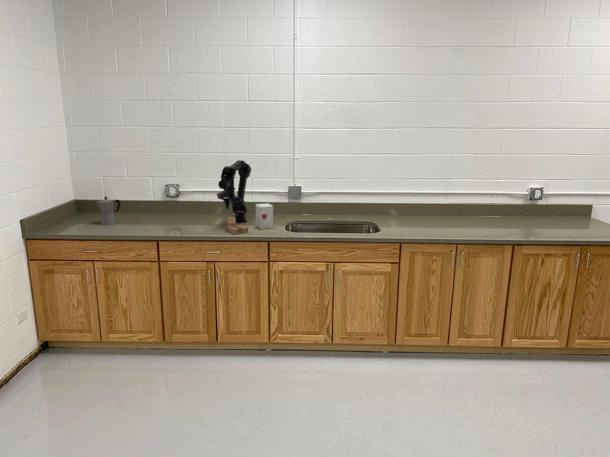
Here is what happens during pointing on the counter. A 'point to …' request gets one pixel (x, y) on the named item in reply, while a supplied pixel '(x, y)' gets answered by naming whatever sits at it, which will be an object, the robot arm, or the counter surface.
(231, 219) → the terracotta cylinder
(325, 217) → the counter surface
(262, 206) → the supplement box
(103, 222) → the coffeepot
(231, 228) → the tan flat block
